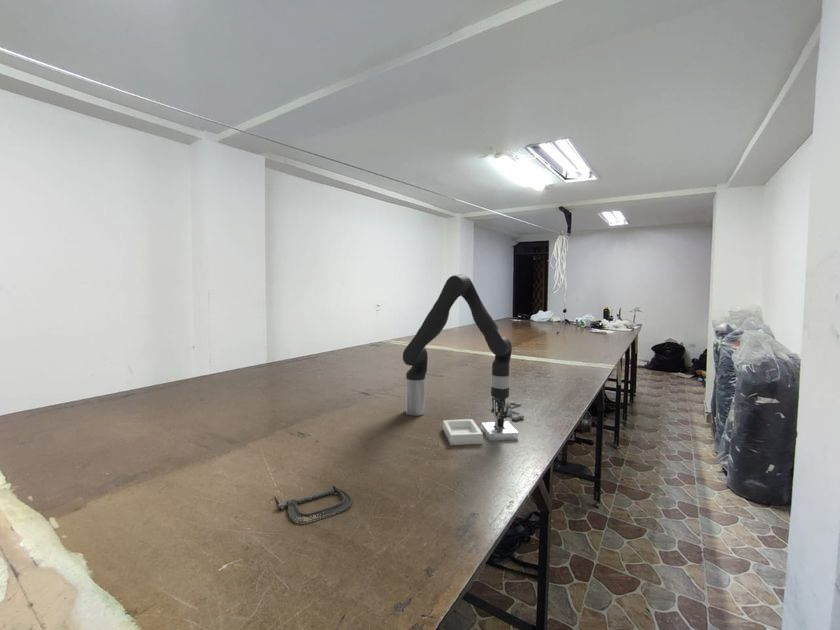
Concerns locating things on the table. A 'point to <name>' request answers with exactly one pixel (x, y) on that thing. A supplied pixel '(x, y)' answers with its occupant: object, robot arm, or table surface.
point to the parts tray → (462, 432)
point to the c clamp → (295, 511)
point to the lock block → (499, 431)
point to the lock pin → (497, 422)
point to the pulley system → (508, 404)
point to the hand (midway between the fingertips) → (499, 425)
